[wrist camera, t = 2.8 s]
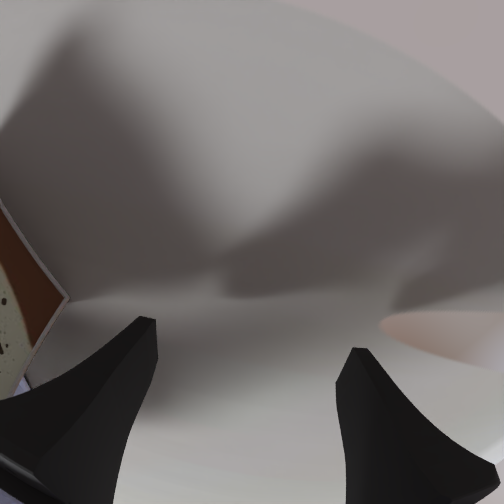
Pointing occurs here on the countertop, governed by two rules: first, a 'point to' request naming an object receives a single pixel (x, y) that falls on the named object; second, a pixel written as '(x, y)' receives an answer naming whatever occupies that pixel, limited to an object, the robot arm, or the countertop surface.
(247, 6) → the countertop surface
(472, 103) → the countertop surface
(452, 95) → the countertop surface
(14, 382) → the food container
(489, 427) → the countertop surface
